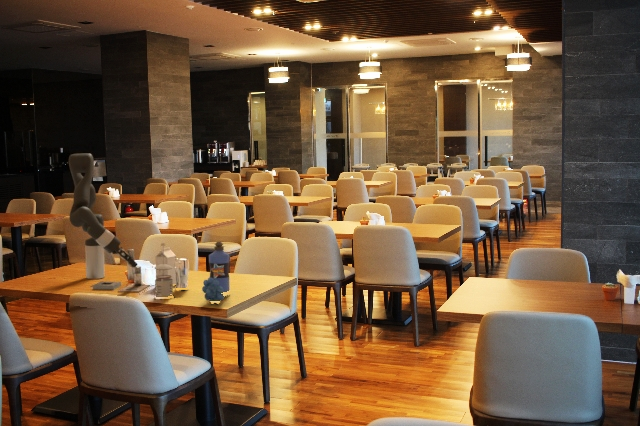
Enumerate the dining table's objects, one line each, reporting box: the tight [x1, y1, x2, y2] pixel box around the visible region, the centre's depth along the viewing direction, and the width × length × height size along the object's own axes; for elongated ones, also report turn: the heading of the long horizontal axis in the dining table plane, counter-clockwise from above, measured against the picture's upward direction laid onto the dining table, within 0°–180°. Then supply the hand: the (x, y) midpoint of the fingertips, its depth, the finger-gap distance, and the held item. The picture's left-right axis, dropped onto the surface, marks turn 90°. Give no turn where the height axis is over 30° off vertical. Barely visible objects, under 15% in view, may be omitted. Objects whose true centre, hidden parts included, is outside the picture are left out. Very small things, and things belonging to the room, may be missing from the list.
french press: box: [154, 242, 174, 297], centre depth 324 cm, size 10×12×25 cm
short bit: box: [133, 265, 143, 286], centre depth 343 cm, size 3×3×9 cm
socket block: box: [92, 280, 122, 291], centre depth 341 cm, size 10×10×3 cm
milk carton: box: [155, 246, 177, 286], centre depth 348 cm, size 7×7×19 cm
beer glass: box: [174, 257, 190, 289], centre depth 340 cm, size 7×7×15 cm
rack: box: [117, 283, 151, 294], centre depth 339 cm, size 18×10×2 cm, turn 175°
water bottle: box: [208, 241, 230, 292], centre depth 326 cm, size 9×9×25 cm
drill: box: [126, 248, 136, 281], centre depth 333 cm, size 3×3×14 cm
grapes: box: [201, 276, 225, 302], centre depth 307 cm, size 12×7×12 cm, turn 58°
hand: (135, 265), depth 334 cm, fingers closed on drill, 3 cm apart
